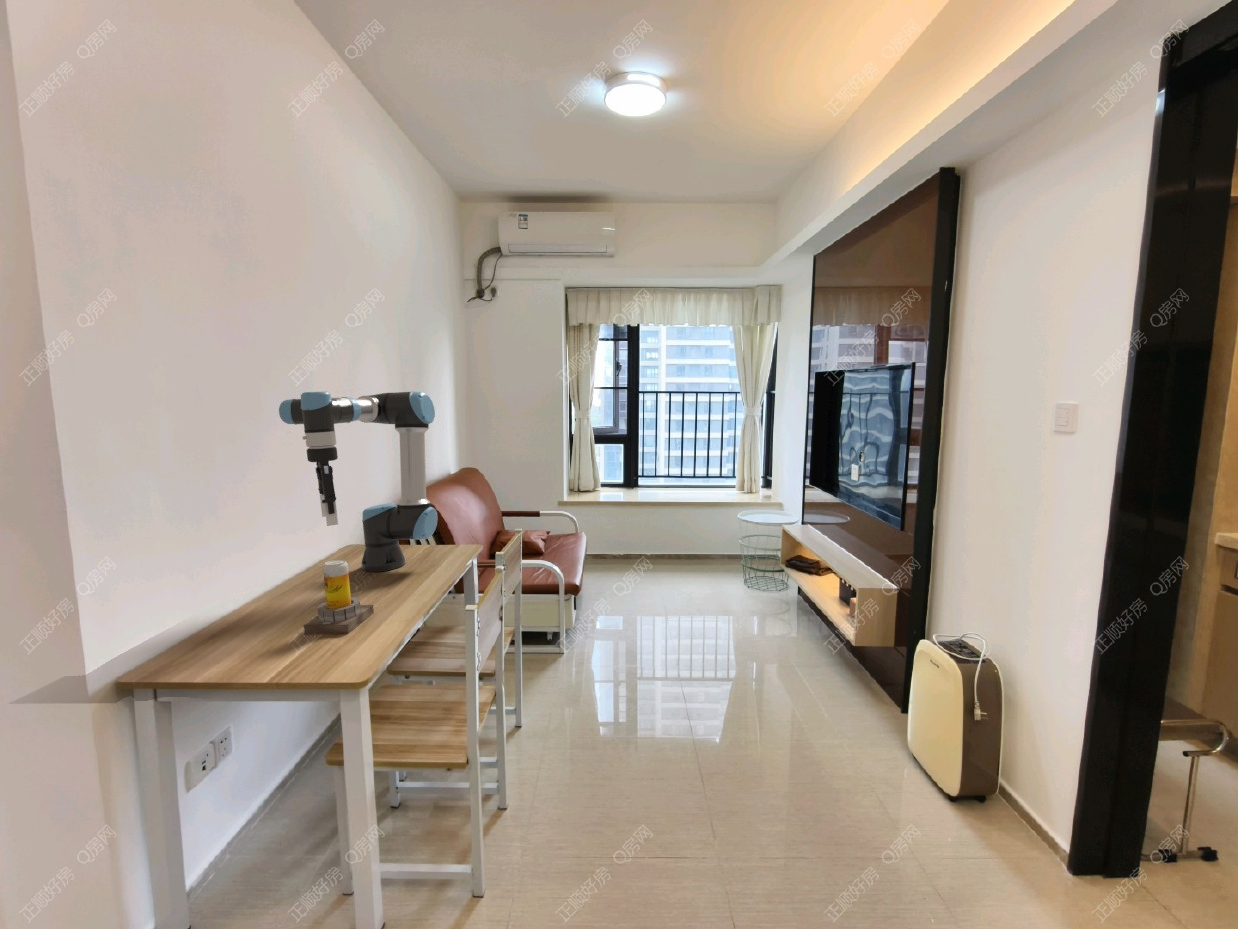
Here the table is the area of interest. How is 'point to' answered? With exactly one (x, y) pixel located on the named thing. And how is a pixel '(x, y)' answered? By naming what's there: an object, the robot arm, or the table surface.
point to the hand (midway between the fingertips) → (329, 520)
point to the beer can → (337, 584)
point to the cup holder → (338, 618)
